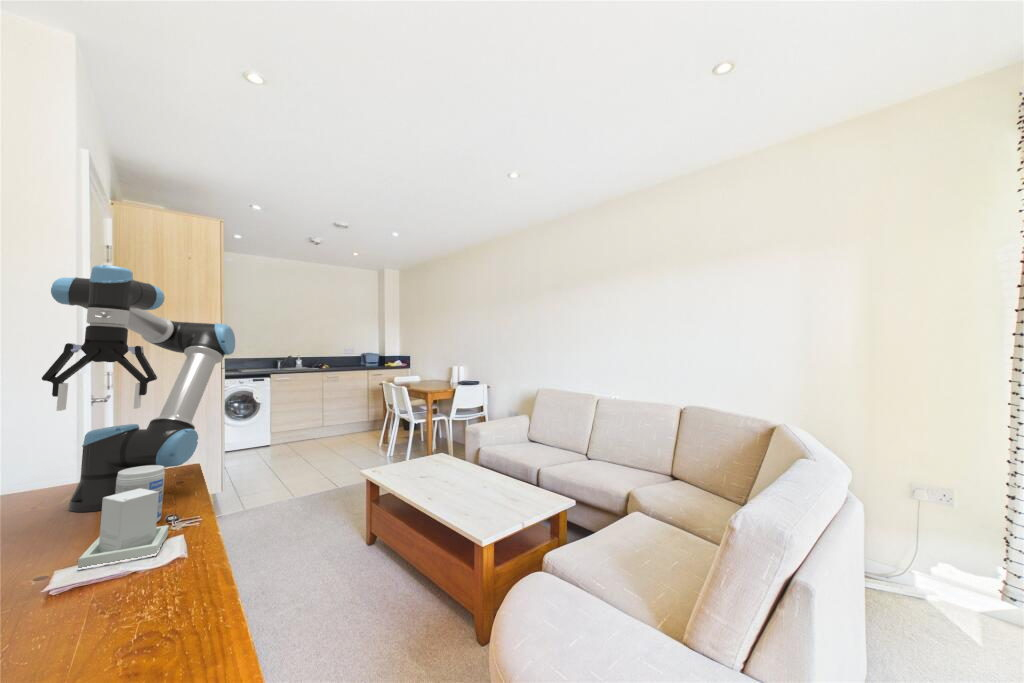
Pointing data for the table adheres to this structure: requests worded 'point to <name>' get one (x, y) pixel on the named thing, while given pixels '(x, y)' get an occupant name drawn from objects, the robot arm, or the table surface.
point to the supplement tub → (142, 481)
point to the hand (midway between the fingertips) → (100, 409)
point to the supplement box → (128, 520)
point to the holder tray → (122, 551)
